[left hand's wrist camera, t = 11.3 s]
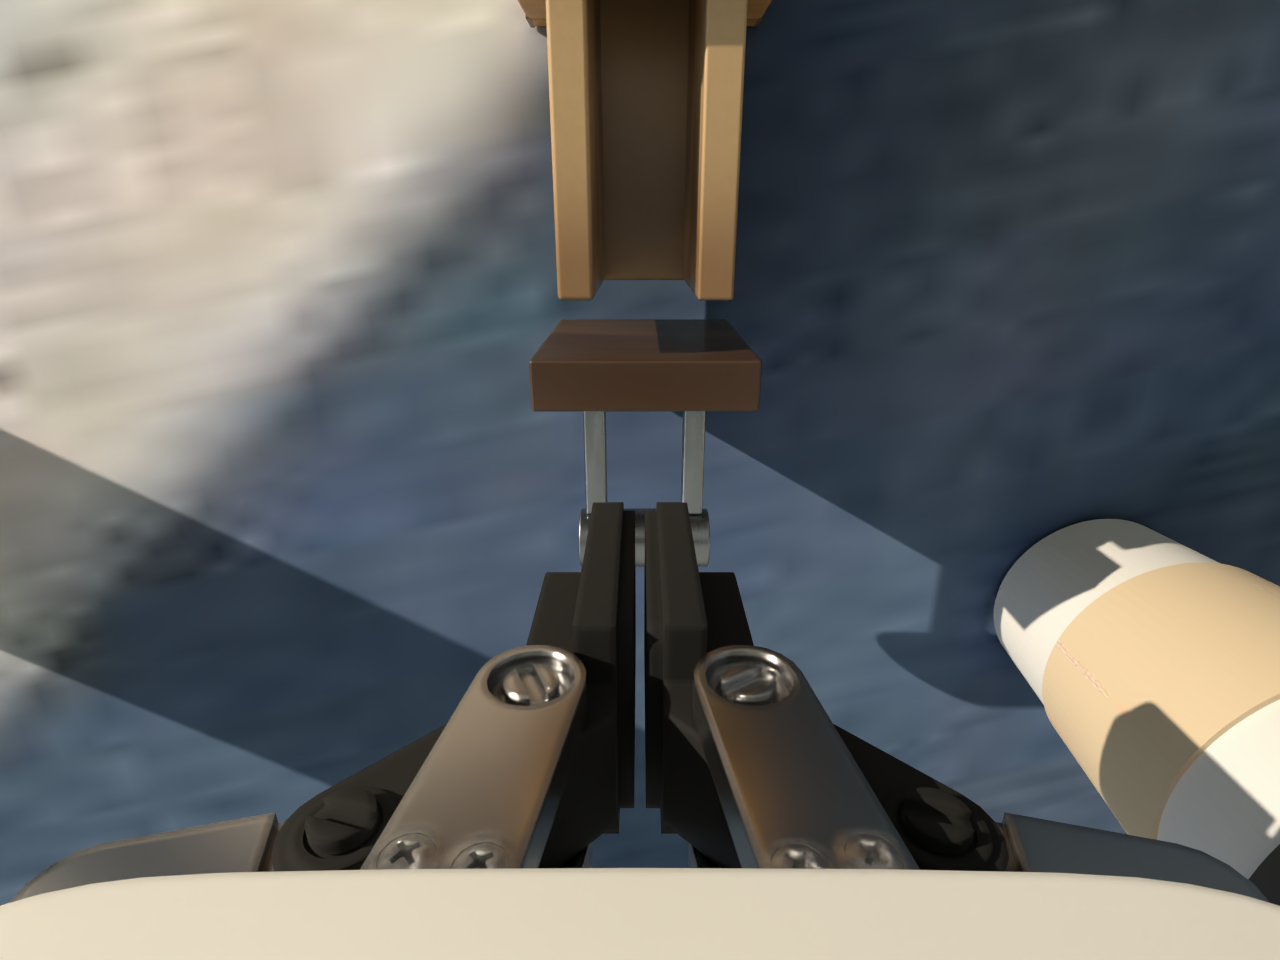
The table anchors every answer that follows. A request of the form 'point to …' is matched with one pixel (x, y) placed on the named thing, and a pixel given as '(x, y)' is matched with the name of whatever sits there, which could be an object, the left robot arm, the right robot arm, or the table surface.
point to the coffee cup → (1158, 684)
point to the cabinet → (536, 16)
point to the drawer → (646, 222)
